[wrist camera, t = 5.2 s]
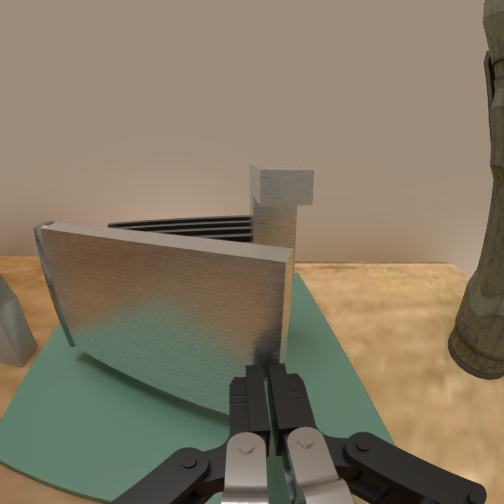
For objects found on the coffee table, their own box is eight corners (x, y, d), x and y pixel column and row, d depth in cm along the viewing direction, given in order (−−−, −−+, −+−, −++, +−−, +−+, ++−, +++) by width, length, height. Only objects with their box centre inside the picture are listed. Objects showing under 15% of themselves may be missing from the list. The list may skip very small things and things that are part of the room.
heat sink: (-6, 459, 8) (-124, 262, 2) (93, 287, 34) (73, 173, 28) (400, 475, 11) (535, 229, 5) (297, 279, 37) (303, 158, 31)
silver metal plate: (64, 342, 19) (29, 227, 15) (78, 331, 20) (48, 220, 17) (272, 429, 13) (284, 264, 9) (281, 406, 15) (294, 247, 11)
